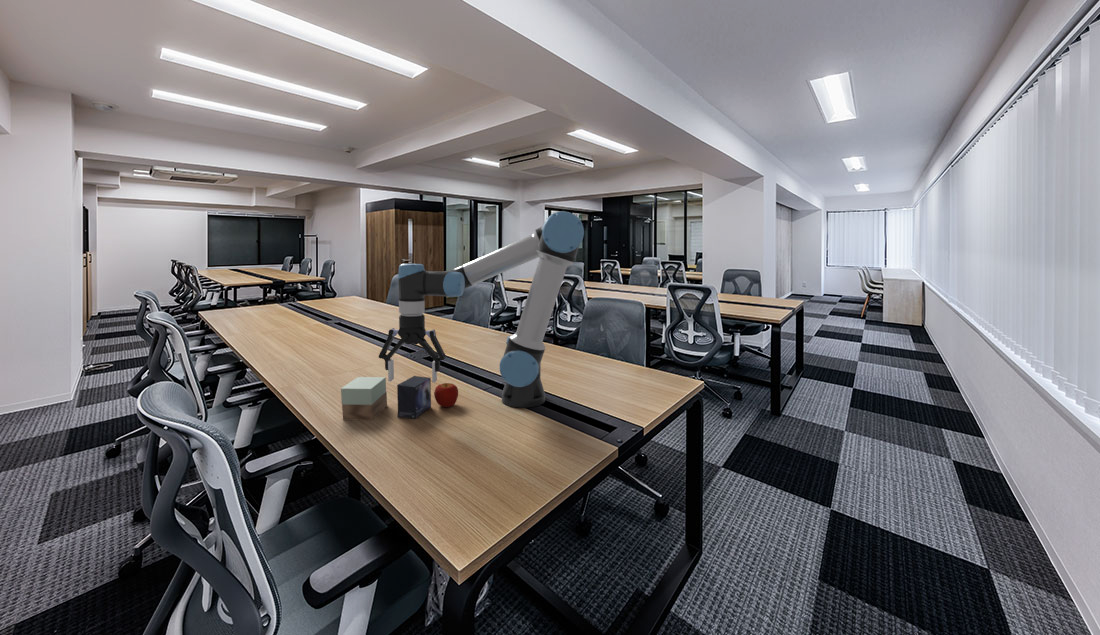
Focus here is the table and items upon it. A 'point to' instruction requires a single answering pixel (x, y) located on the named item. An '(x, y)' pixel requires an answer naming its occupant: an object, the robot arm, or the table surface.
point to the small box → (414, 397)
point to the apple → (446, 394)
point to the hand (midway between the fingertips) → (412, 380)
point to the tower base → (365, 409)
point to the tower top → (363, 390)
